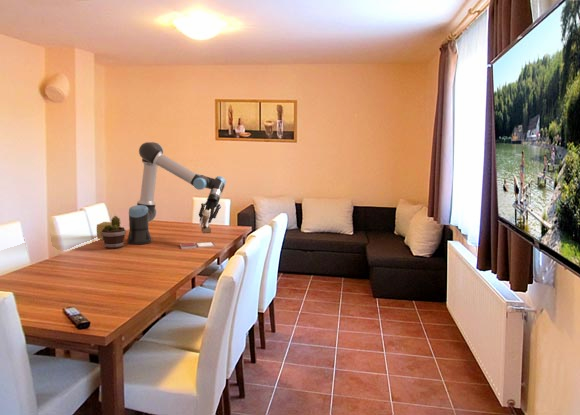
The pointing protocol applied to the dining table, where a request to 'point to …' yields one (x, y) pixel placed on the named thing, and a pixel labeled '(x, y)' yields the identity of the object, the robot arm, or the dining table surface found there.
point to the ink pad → (187, 245)
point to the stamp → (205, 217)
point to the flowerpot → (113, 234)
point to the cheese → (101, 226)
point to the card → (205, 244)
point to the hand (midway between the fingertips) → (203, 226)
